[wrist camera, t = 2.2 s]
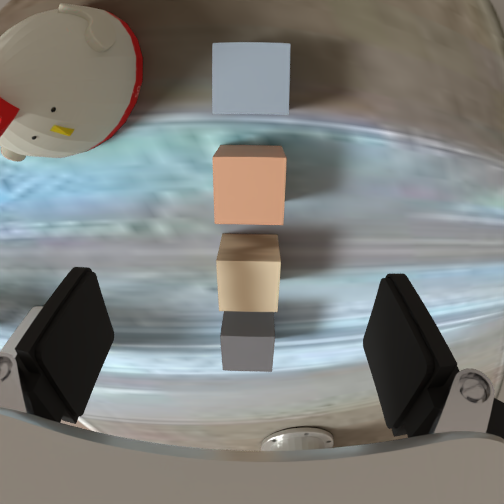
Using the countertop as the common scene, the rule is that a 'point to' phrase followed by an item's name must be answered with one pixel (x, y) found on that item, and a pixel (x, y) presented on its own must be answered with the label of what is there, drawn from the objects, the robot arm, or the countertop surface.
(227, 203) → the terracotta block
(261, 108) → the slate block
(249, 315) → the charcoal block
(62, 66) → the kitchen timer
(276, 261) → the maple block
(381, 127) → the countertop surface
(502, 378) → the countertop surface
